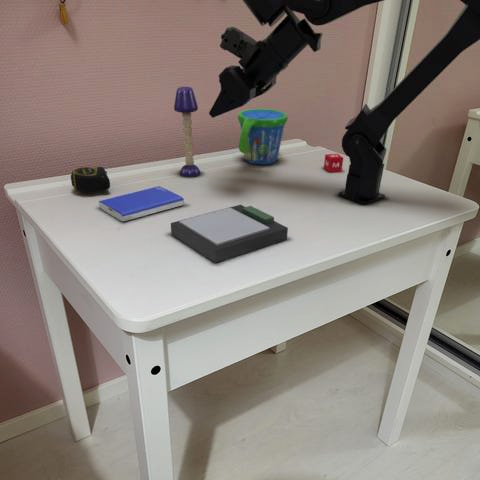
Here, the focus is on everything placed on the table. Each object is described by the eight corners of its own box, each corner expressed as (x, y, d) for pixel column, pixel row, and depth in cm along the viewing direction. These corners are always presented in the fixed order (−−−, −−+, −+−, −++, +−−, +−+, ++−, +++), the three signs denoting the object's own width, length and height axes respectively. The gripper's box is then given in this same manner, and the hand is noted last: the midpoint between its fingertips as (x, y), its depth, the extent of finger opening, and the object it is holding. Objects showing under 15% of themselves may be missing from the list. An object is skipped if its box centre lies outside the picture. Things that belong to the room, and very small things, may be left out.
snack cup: (258, 173, 105) (260, 123, 99) (221, 163, 110) (221, 115, 104) (298, 158, 115) (302, 112, 109) (262, 149, 120) (264, 105, 114)
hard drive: (158, 185, 92) (98, 199, 85) (183, 197, 87) (122, 213, 80) (158, 193, 93) (99, 208, 86) (184, 205, 88) (123, 222, 81)
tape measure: (111, 195, 92) (109, 175, 90) (73, 198, 90) (70, 177, 88) (108, 183, 97) (106, 164, 95) (72, 185, 95) (69, 166, 93)
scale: (240, 215, 85) (240, 199, 83) (287, 239, 77) (288, 222, 76) (171, 234, 78) (170, 218, 76) (215, 263, 70) (215, 245, 68)
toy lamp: (190, 179, 100) (187, 90, 91) (172, 174, 102) (168, 87, 93) (204, 173, 104) (202, 87, 94) (186, 169, 106) (183, 84, 96)
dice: (328, 172, 106) (330, 158, 105) (323, 168, 109) (325, 154, 107) (341, 171, 107) (343, 157, 105) (336, 167, 110) (338, 153, 108)
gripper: (264, 8, 91) (209, 69, 100) (231, 10, 76) (170, 82, 85) (301, 58, 93) (244, 114, 102) (276, 70, 78) (212, 134, 87)
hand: (219, 110), depth 94 cm, fingers open, 9 cm apart
